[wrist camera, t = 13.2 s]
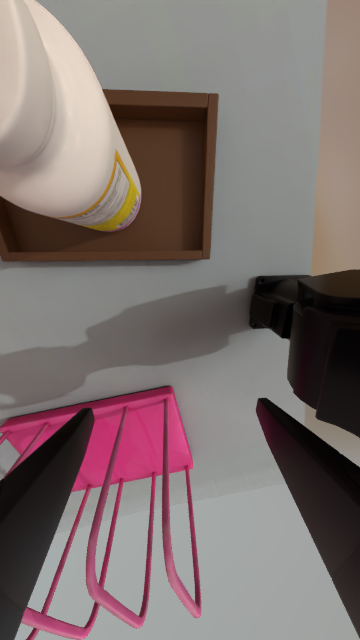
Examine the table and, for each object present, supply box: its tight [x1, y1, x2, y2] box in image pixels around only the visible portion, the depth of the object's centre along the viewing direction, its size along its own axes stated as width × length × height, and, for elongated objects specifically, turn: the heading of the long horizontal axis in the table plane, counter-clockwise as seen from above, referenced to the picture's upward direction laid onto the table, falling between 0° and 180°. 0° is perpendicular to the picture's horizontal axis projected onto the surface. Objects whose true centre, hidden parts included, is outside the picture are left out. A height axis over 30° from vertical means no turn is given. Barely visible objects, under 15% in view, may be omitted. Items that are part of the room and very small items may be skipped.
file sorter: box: [0, 386, 201, 640], centre depth 21 cm, size 17×25×16 cm
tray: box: [0, 89, 219, 261], centre depth 15 cm, size 20×12×2 cm, turn 91°
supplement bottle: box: [0, 0, 141, 232], centre depth 10 cm, size 7×7×13 cm
